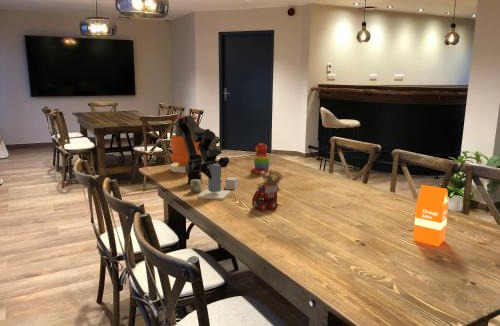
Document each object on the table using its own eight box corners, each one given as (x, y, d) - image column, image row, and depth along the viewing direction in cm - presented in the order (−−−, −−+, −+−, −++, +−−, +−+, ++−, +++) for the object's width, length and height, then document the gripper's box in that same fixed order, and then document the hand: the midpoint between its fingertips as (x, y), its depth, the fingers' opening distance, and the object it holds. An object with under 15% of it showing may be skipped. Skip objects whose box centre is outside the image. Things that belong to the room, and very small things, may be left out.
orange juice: (419, 234, 157) (424, 182, 152) (444, 240, 151) (450, 186, 147) (412, 240, 151) (417, 186, 147) (438, 246, 145) (444, 191, 141)
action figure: (274, 175, 233) (287, 180, 219) (261, 189, 230) (273, 195, 217) (263, 162, 229) (276, 167, 215) (250, 177, 227) (262, 182, 213)
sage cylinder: (189, 193, 208) (189, 181, 207) (192, 190, 213) (192, 179, 211) (198, 193, 207) (198, 182, 205) (202, 191, 211) (202, 179, 210)
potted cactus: (168, 167, 264) (167, 112, 257) (203, 165, 271) (202, 111, 264) (173, 175, 244) (171, 115, 237) (210, 172, 251) (209, 114, 244)
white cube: (225, 188, 217) (225, 179, 216) (228, 186, 221) (228, 177, 220) (234, 189, 216) (235, 180, 214) (237, 187, 220) (237, 177, 219)
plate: (197, 197, 200) (197, 195, 199) (206, 190, 212) (206, 188, 212) (223, 200, 196) (223, 198, 196) (231, 192, 209) (231, 190, 209)
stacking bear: (249, 171, 257) (250, 142, 253) (264, 169, 261) (264, 141, 257) (257, 174, 247) (257, 145, 243) (272, 173, 251) (273, 144, 247)
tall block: (208, 190, 205) (208, 164, 202) (216, 189, 207) (216, 163, 204) (212, 192, 201) (212, 166, 198) (220, 191, 203) (220, 165, 200)
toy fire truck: (248, 207, 186) (249, 185, 184) (273, 204, 191) (274, 182, 189) (255, 212, 180) (256, 189, 177) (280, 208, 185) (281, 186, 183)
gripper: (192, 143, 198) (202, 171, 191) (227, 140, 207) (238, 167, 200) (187, 157, 206) (195, 183, 199) (220, 153, 215) (230, 179, 208)
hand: (215, 178), depth 201 cm, fingers open, 5 cm apart
